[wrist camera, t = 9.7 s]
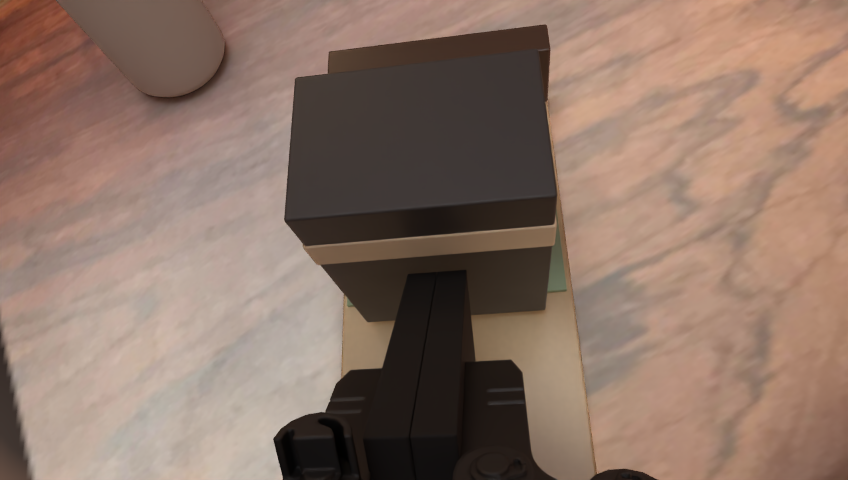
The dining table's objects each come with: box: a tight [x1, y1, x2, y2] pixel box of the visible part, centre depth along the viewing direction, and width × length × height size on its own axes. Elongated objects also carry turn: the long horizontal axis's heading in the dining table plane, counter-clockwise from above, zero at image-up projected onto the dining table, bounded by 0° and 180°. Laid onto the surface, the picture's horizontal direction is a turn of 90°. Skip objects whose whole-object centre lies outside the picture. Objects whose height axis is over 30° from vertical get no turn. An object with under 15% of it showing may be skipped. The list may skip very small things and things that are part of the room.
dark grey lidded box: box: [284, 49, 558, 322], centre depth 18 cm, size 4×6×8 cm
